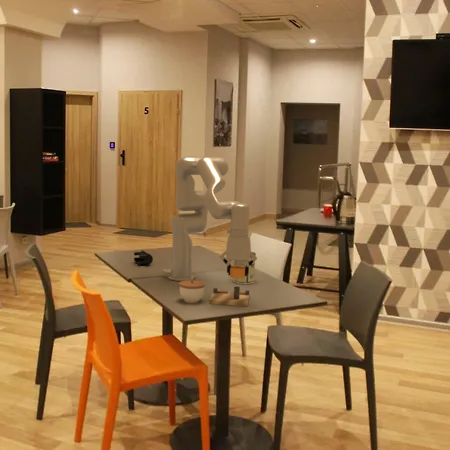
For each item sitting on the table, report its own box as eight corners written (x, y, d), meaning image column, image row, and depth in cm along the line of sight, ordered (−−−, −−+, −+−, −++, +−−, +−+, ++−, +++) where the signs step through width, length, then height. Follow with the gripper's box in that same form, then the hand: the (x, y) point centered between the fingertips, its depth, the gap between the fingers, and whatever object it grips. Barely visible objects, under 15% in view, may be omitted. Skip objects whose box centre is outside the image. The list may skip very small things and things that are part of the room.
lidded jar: (209, 301, 270) (210, 279, 268) (191, 306, 262) (192, 283, 260) (191, 296, 277) (192, 275, 275) (173, 300, 269) (174, 278, 267)
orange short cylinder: (229, 277, 266) (229, 268, 265) (230, 274, 272) (231, 265, 271) (244, 278, 265) (245, 269, 264) (245, 275, 271) (246, 266, 271)
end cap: (152, 266, 332) (153, 253, 331) (139, 267, 329) (140, 254, 328) (146, 262, 341) (146, 249, 340) (133, 263, 338) (133, 250, 337)
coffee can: (236, 278, 313) (237, 250, 311) (256, 280, 310) (257, 252, 308) (230, 282, 303) (231, 253, 301) (251, 285, 300) (253, 255, 298)
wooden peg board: (208, 303, 266) (209, 288, 265) (213, 294, 280) (213, 280, 279) (247, 306, 265) (247, 290, 264) (249, 297, 279) (250, 282, 278)
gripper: (217, 233, 263) (216, 275, 265) (259, 235, 261) (257, 278, 264) (219, 230, 270) (218, 272, 273) (260, 232, 268) (258, 274, 271)
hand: (237, 274), depth 268 cm, fingers closed on orange short cylinder, 6 cm apart
